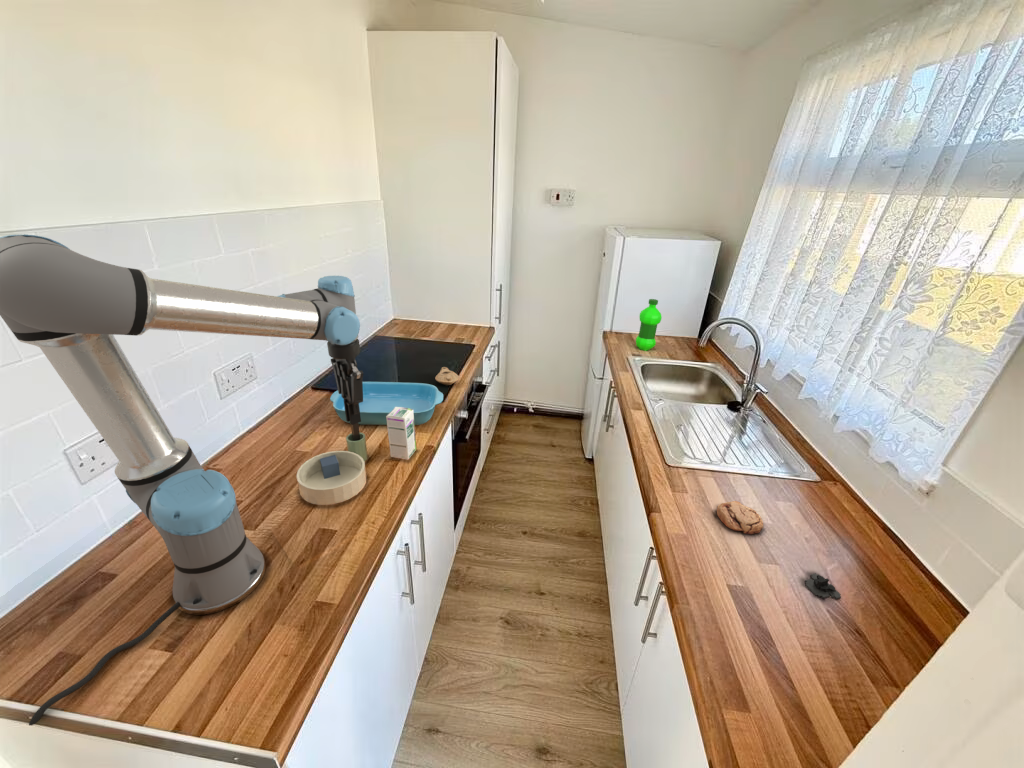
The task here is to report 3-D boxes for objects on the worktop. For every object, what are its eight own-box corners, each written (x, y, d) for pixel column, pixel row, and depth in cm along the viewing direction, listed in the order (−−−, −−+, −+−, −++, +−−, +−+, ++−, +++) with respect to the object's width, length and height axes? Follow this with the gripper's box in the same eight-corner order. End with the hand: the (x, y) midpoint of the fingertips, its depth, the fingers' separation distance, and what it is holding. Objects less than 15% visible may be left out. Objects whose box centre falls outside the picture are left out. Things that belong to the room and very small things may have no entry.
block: (324, 479, 114) (322, 466, 112) (321, 470, 117) (319, 458, 115) (340, 474, 116) (338, 462, 114) (337, 466, 119) (335, 454, 117)
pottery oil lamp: (454, 373, 179) (460, 361, 174) (454, 394, 170) (460, 382, 166) (433, 367, 175) (439, 355, 171) (432, 388, 167) (439, 376, 163)
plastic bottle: (630, 345, 222) (639, 297, 211) (650, 345, 223) (659, 297, 212) (637, 352, 213) (647, 302, 202) (658, 352, 214) (668, 303, 203)
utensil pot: (354, 468, 120) (351, 444, 116) (346, 460, 123) (342, 436, 119) (371, 461, 123) (368, 437, 120) (362, 453, 126) (359, 430, 123)
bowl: (316, 517, 102) (313, 499, 100) (290, 484, 112) (286, 467, 110) (378, 487, 113) (376, 470, 111) (348, 459, 123) (346, 443, 121)
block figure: (801, 571, 92) (821, 566, 93) (798, 579, 93) (817, 573, 94) (827, 595, 87) (847, 589, 88) (823, 603, 88) (843, 597, 89)
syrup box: (408, 462, 124) (405, 418, 117) (389, 458, 124) (385, 415, 118) (416, 450, 129) (414, 408, 122) (398, 447, 130) (394, 405, 123)
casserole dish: (445, 399, 159) (445, 381, 156) (441, 431, 139) (440, 412, 136) (343, 397, 156) (341, 380, 153) (323, 430, 136) (320, 410, 133)
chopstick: (356, 454, 121) (348, 397, 113) (354, 451, 122) (346, 395, 114) (362, 452, 122) (354, 396, 114) (359, 449, 123) (352, 393, 115)
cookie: (764, 540, 103) (768, 530, 101) (717, 527, 106) (720, 517, 105) (758, 513, 111) (762, 504, 110) (714, 501, 114) (717, 493, 113)
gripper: (371, 344, 105) (380, 427, 115) (343, 329, 114) (353, 406, 124) (342, 351, 100) (353, 437, 110) (315, 335, 109) (328, 415, 119)
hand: (353, 421), depth 117 cm, fingers closed on chopstick, 2 cm apart
